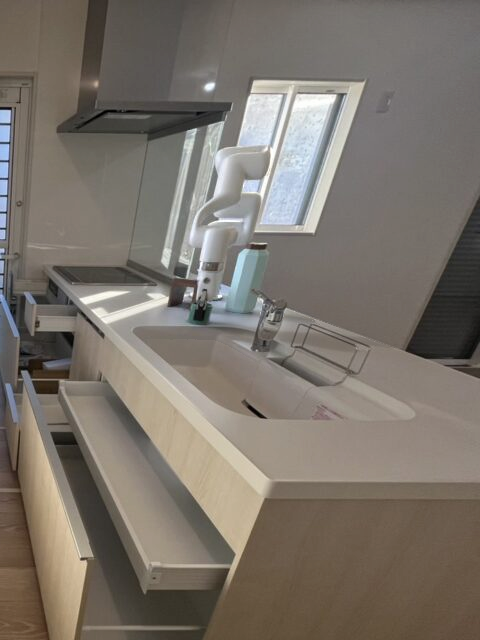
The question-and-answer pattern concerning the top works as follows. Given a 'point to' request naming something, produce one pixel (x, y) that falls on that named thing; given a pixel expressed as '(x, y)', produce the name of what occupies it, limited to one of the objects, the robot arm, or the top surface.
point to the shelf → (182, 290)
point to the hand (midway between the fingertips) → (199, 317)
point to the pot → (206, 317)
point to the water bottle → (247, 277)
